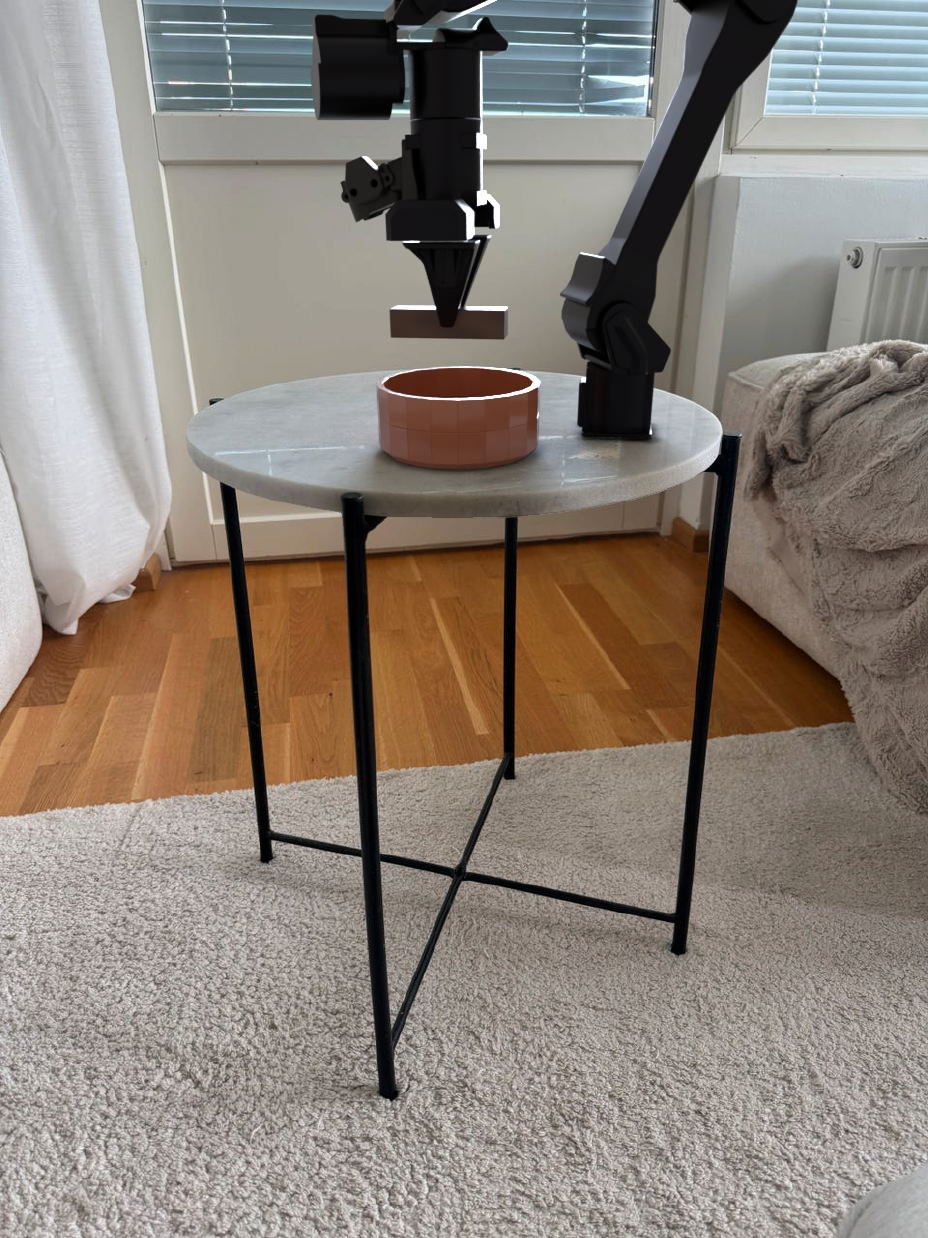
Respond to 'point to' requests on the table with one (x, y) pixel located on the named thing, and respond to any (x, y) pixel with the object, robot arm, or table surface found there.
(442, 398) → the bowl
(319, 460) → the table surface
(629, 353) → the robot arm
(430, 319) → the stick
